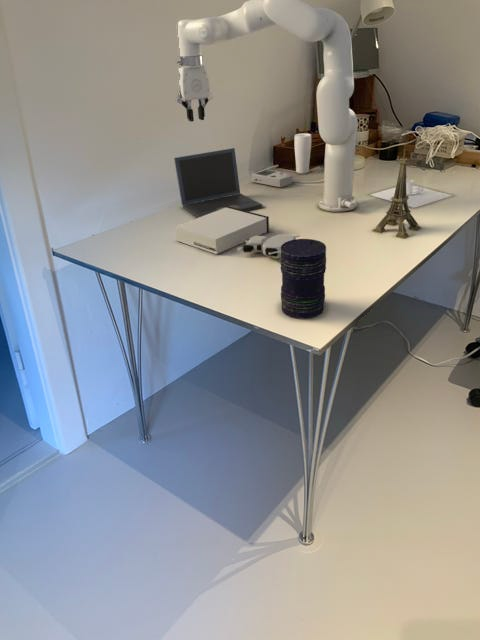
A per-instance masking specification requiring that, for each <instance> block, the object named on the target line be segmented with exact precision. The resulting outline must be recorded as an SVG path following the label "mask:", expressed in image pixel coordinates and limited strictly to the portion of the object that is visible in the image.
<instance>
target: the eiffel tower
mask: <svg viewBox="0 0 480 640" xmlns="http://www.w3.org/2000/svg"><path fill="white" fill-rule="evenodd" d="M404 146H406V144H405V145H404ZM397 163H398V164H399V170H398V175H397V179H396V185H395V187H396V189H395V193H394V197H392V198H391V200H392V201H391V204H390V207H389V209H388V210H387V211H386V212H385V213H386V215H384V217H383V218H382V219H381V220H380V221H379V222H378V224H376V227H375V228H373V229H372V230H371V232H374V233H379V234H381V233H383V232H384V231H386V226H387V225H390V226H395V225H396V224H398V227H397V233H396V235H395V237H396V238H400V239H404V240H405V239H406V238H408V237H409V236H410V234H409V233H408V230H412V231H416V232H418V231H420V230H421V229H422V226H420V225H419V223H418V222H417V220H416V218H415V217H414V216H413V214H411V212H412V210H410V207H409V206H408V203H407V199H409V197H408V196H406V180H407V164H409V158H406V149H404V150H403V157H402V158H400V159H399V161H398V162H397ZM405 221H406V222H407V224H408V225H409V226H408V230H407V229H406V227H405V224H404V222H405Z"/></svg>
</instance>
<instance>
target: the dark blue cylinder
mask: <svg viewBox="0 0 480 640" xmlns="http://www.w3.org/2000/svg"><path fill="white" fill-rule="evenodd" d="M326 270H327V245H326V244H325V243H324V242H322V241H320V240H317V239H313V238H312V239H311V238H296V239H295V240H290V241H287V242H285V243H284V244H282V246H281V258H280V273H281V286H280V302H281V312H282V313H283V314H284V315H285V316H287V317H289V318H292V319H297V320H311V319H314V318H317V317H319V316H321V315H322V314H323V313H324V311H325V301H326V287H325V286H326V285H325V274H326Z"/></svg>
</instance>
